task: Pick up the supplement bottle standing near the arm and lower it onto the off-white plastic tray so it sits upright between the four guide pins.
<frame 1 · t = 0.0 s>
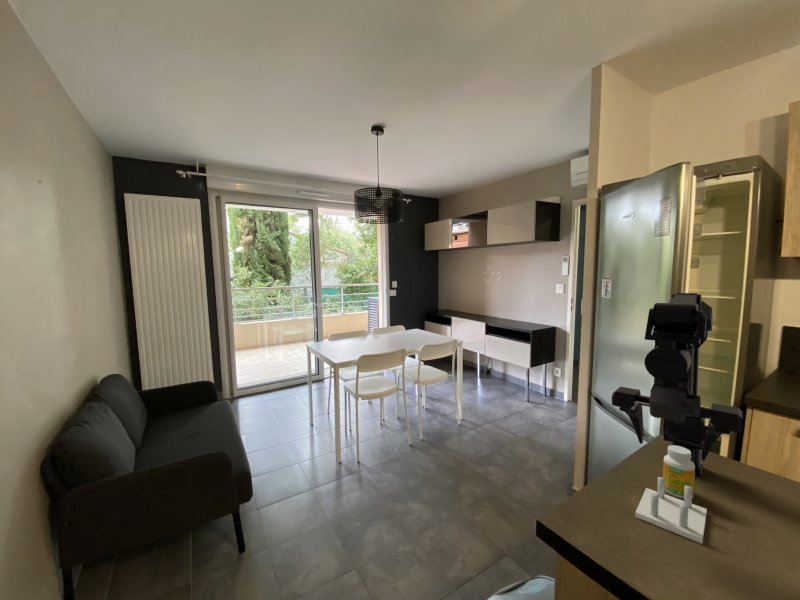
hand: (670, 450, 64), 15 cm above the countertop, tool pointing down, fingers open, 9 cm apart
pin tray: (671, 515, 68), on the countertop
supplement bottle: (677, 492, 75), on the countertop
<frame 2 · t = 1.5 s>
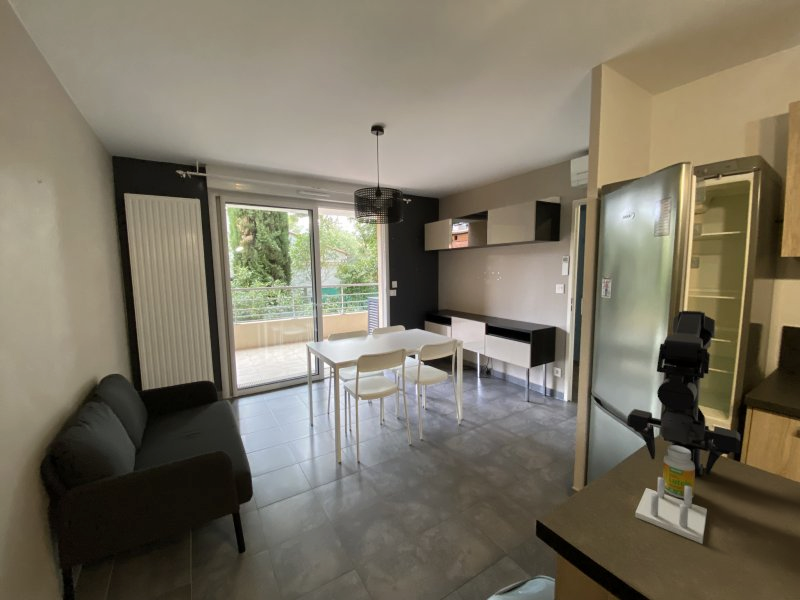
hand: (678, 466, 75), 6 cm above the countertop, tool pointing down, fingers open, 9 cm apart
nothing on the countertop moved.
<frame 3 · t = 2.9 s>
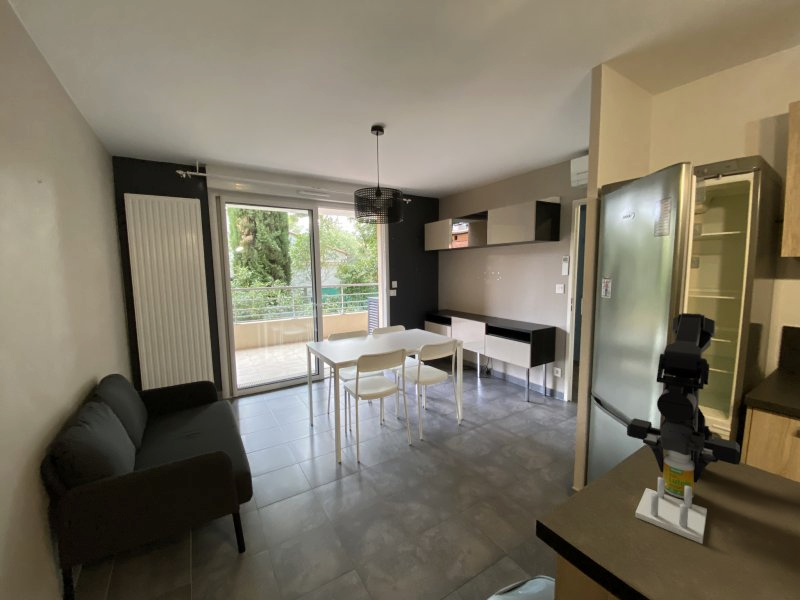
hand: (678, 476, 75), 4 cm above the countertop, tool pointing down, fingers closed on supplement bottle, 5 cm apart
supplement bottle: (677, 492, 75), on the countertop, touching gripper
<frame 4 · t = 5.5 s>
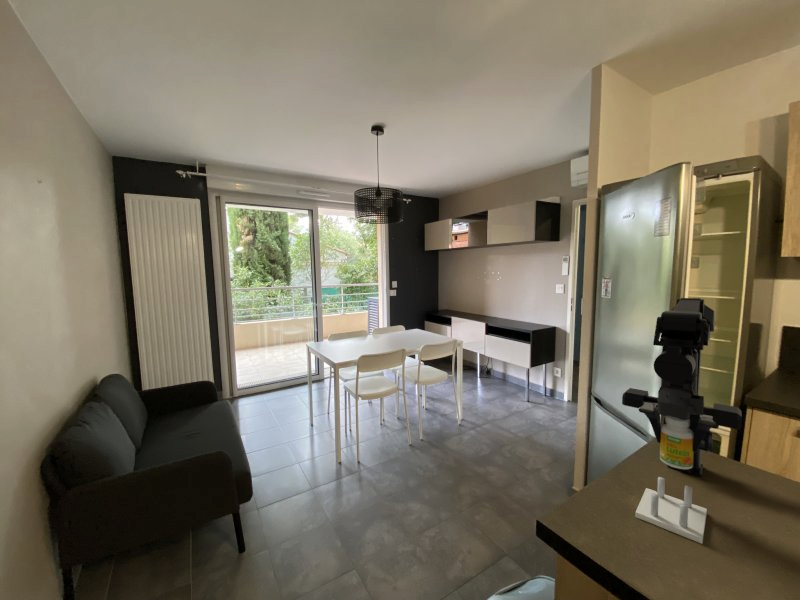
hand: (676, 446, 71), 12 cm above the countertop, tool pointing down, fingers closed on supplement bottle, 5 cm apart
supplement bottle: (675, 464, 71), point 9 cm above the countertop, touching gripper
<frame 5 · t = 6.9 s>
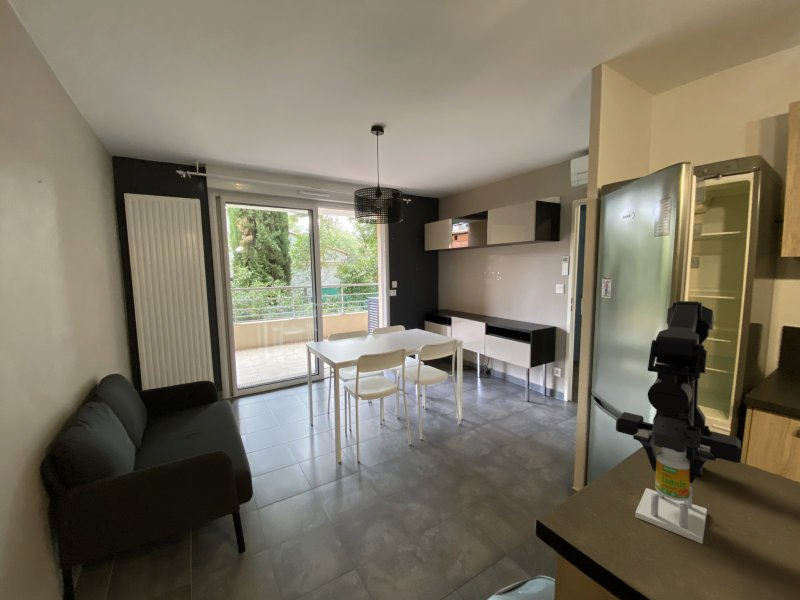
hand: (672, 476, 68), 8 cm above the countertop, tool pointing down, fingers closed on supplement bottle, 5 cm apart
supplement bottle: (671, 494, 68), point 4 cm above the countertop, touching gripper
when the fingers open (6 cm above the countertop, at t = 8.2 s): supplement bottle drops 1 cm, resting on pin tray.
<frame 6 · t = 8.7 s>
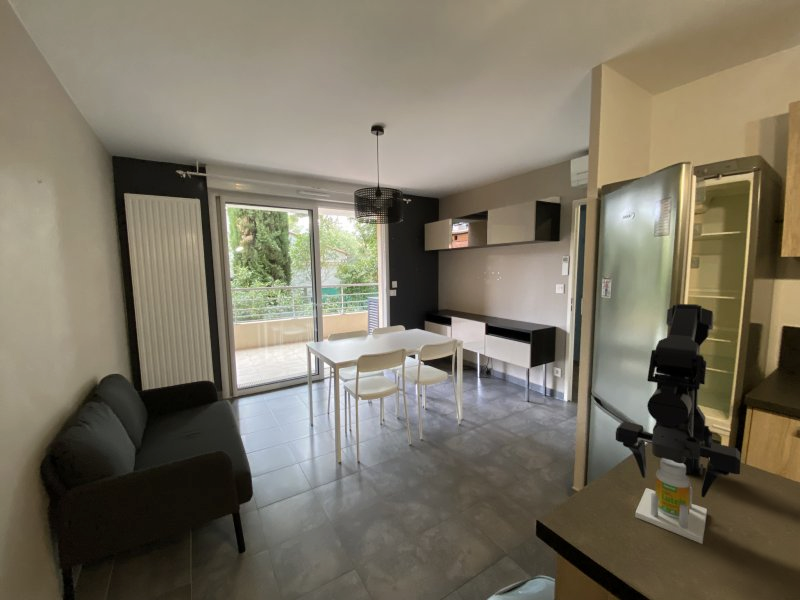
hand: (672, 486, 68), 6 cm above the countertop, tool pointing down, fingers open, 9 cm apart
supplement bottle: (671, 511, 68), point 1 cm above the countertop, touching pin tray
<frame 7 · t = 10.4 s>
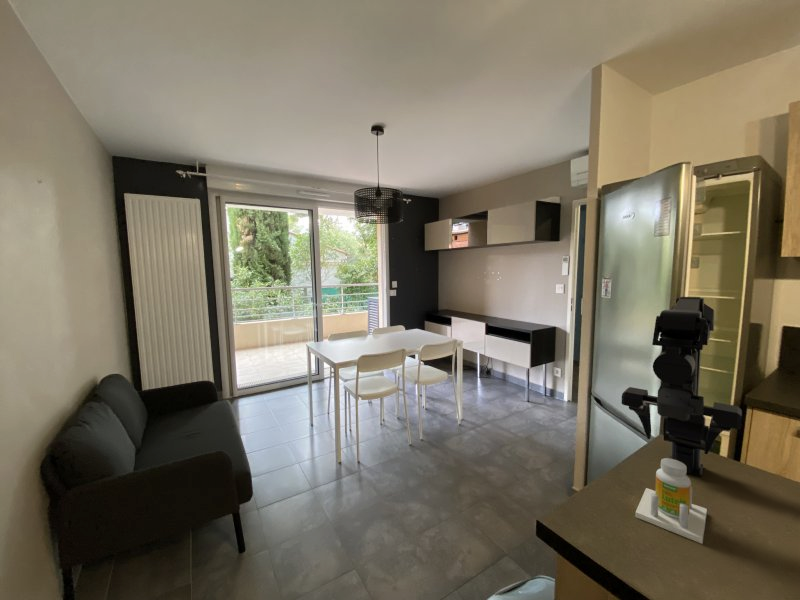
hand: (676, 445, 71), 13 cm above the countertop, tool pointing down, fingers open, 9 cm apart
nothing on the countertop moved.
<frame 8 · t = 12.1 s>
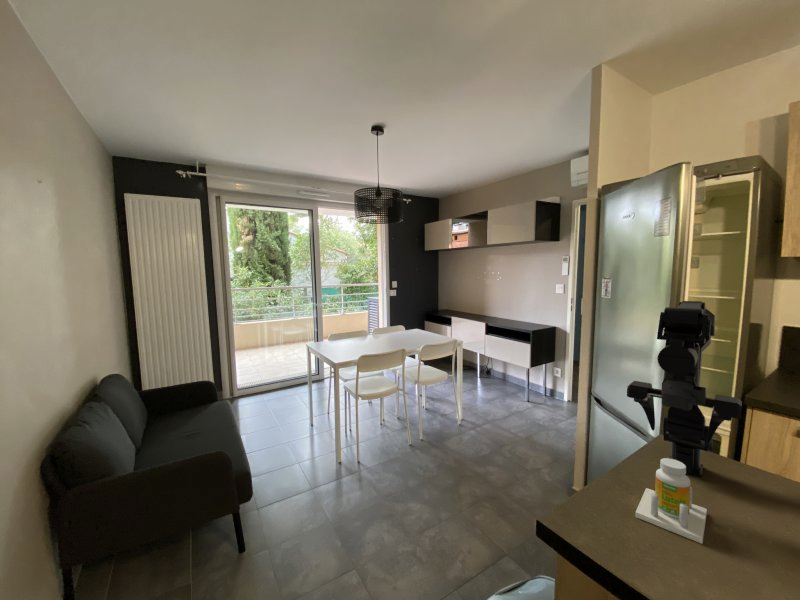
hand: (679, 436, 74), 13 cm above the countertop, tool pointing down, fingers open, 9 cm apart
nothing on the countertop moved.
at the end: supplement bottle 0.1 cm off-centre on the pin tray, point 0.8 cm above the pin tray's base; supplement bottle tilted 0°; the gripper is holding nothing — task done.
